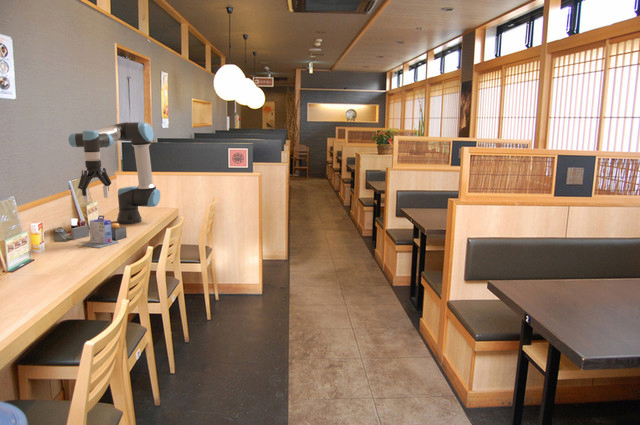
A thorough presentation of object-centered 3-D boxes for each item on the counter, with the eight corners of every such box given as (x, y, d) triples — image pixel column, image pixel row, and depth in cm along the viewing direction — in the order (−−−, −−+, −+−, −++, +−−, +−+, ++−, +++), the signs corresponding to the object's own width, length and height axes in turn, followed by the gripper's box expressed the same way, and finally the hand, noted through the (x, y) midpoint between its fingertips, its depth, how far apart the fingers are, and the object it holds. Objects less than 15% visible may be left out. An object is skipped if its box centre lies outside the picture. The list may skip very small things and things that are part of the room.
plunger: (115, 234, 266) (114, 222, 265) (121, 234, 265) (120, 223, 264) (109, 235, 262) (108, 224, 261) (115, 236, 261) (114, 225, 260)
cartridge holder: (86, 235, 271) (85, 225, 270) (107, 238, 265) (106, 227, 264) (71, 239, 261) (70, 228, 260) (93, 242, 256) (92, 231, 255)
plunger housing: (115, 236, 269) (115, 226, 268) (126, 237, 266) (126, 227, 265) (104, 239, 262) (104, 228, 261) (115, 240, 259) (115, 230, 258)
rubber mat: (100, 240, 260) (100, 239, 260) (118, 242, 255) (118, 241, 255) (81, 245, 248) (81, 244, 248) (99, 248, 243) (99, 247, 243)
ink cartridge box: (113, 242, 254) (111, 215, 251) (105, 244, 248) (103, 217, 246) (97, 240, 256) (95, 214, 254) (90, 243, 251) (88, 216, 249)
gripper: (105, 157, 260) (109, 195, 264) (67, 161, 237) (71, 203, 242) (116, 158, 258) (119, 196, 262) (78, 162, 235) (83, 204, 239)
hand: (96, 199), depth 252 cm, fingers open, 13 cm apart
